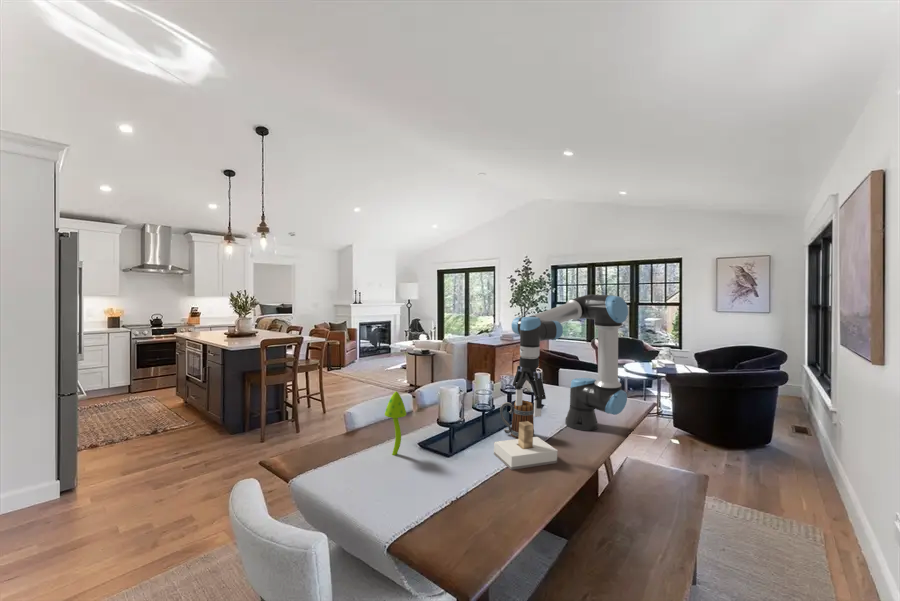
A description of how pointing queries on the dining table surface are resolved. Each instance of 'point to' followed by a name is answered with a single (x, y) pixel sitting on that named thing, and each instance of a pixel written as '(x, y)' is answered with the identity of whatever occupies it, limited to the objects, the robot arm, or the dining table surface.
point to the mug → (518, 416)
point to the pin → (525, 435)
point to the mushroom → (396, 417)
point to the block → (525, 453)
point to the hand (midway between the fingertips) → (527, 410)
